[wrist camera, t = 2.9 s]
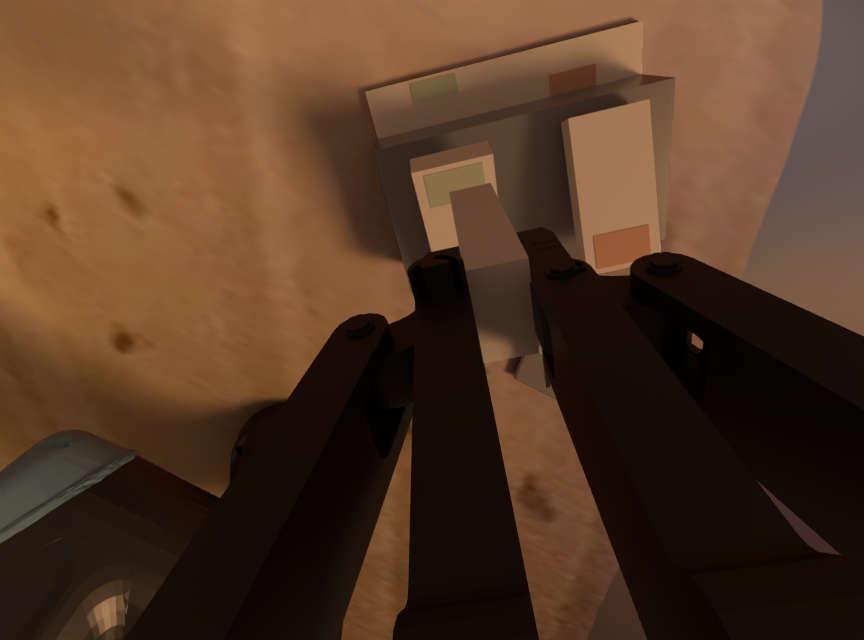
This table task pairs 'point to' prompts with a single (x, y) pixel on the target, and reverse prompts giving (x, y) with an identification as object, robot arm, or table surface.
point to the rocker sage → (449, 186)
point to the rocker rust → (612, 185)
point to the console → (516, 127)
